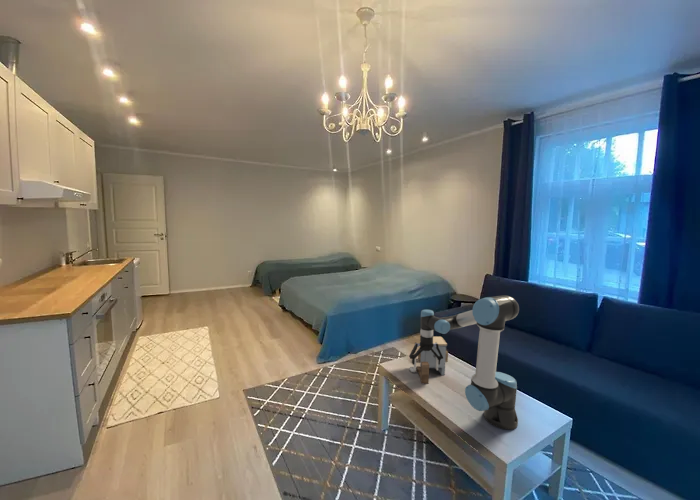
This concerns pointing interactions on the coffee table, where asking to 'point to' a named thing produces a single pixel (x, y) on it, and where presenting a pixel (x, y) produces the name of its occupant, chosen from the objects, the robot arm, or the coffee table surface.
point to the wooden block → (424, 372)
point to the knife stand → (445, 359)
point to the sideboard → (431, 358)
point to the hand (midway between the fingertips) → (425, 369)
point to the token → (413, 370)
